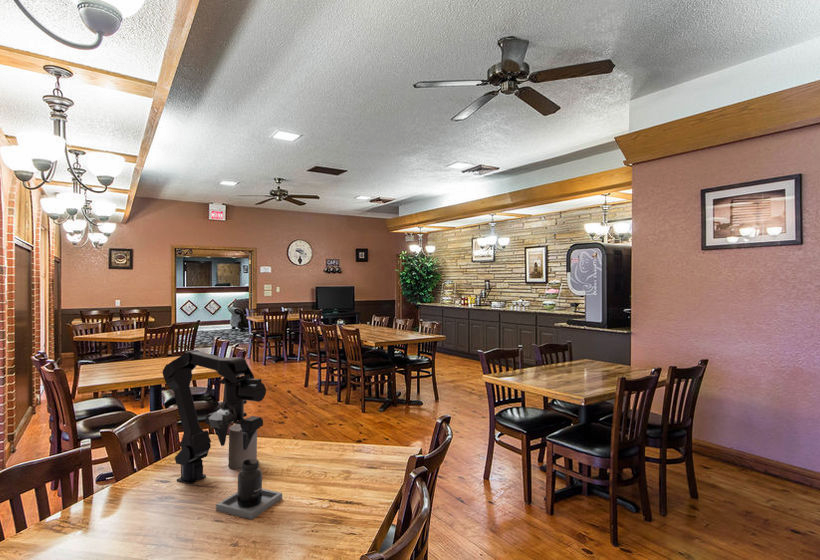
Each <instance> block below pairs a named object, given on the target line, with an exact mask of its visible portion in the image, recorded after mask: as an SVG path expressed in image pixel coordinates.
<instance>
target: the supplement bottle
mask: <svg viewBox="0 0 820 560" xmlns="http://www.w3.org/2000/svg"><path fill="white" fill-rule="evenodd" d="M259 464H260V460H259V459H258V458H257V459H248V460H245V461H243V462H242V467H241V469H242V470H239V473H238V475H237V492H238V493H237V503H238V505H239V506H240V507H245V508H247V507H253V506H256V505H258V504H259V503H260V502H261V500H262V489H263V471H262V470H261V469H260V465H259Z"/></svg>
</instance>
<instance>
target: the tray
mask: <svg viewBox="0 0 820 560" xmlns="http://www.w3.org/2000/svg"><path fill="white" fill-rule="evenodd" d="M237 493H238V491H236V492H235V493H233V494H231V495H229V496H228V497H226V498H224V499H222V500H221V501H219V502H217V503H216V504H215V511H216V512H221V513H225V514H229V515H233V516H236V517H240V518H244V519H247V520H250V521H251V520H252V521H253V520H254V519H255V518H257V517H258V516H259V515H261V514H262V513H264V512H266V511H267V510H268V509H270V508H272V507H273V506H275V505H276V504H278V503H279V502H280V501H281V500H283V492H279V491H275V490H270V489H267V488H262V500H261V502H260V503H259V504H258V505H256V506H253V507H247V508H245V507H240V506H239V505H238V503H237Z"/></svg>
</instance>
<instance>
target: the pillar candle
mask: <svg viewBox="0 0 820 560" xmlns="http://www.w3.org/2000/svg"><path fill="white" fill-rule="evenodd" d="M240 430H242V428H241V427H240V424H234V423H233V424H231V425H230V426H228V460H227V461H228V465H227V466H228V468H229V469H230V470H236V471H242V469H241V467H242V462H243V461H245V460H248V459H257V460H258V458H257V457H258V455H257V454H258V429H257V430H256V432H255V433H254V435H253V437H252V439H251V441H250V444H249V446H248V448H247V449H246V450H244V449H243V434H242V433H241V432H240Z"/></svg>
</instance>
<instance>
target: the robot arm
mask: <svg viewBox="0 0 820 560" xmlns="http://www.w3.org/2000/svg"><path fill="white" fill-rule="evenodd" d="M197 366H198V367H200V368H201V367H202V368H205V369H208V370H213V371H216V372H217V374H218V375H219V376H221V377H223V378H221V380H219V381H218V382H219V384H221V385H224V402H221V404H220V408H219V409H218V410H216V411H214V412H211V413H208V414H207V415H206V417H205V425H208V427H209V428H212V429H213V430H214V431H215V433H216V436H217V438H218V441H219V444H220V445H221V447H223V446H225V444H226V440H227V435H228V430H229V425H230V424H233V425H234V424H240V427H241V428H242V430H240V432H241V433H242V434H243V449H244V450H246V449H247V448H248V446H249V444H250V441H251V439H252V437H253V435H254V433H255V432H256V430H257V431H258V429H260V428H261V427H263V426H264V418H262V417H261V416H256V415H251V416H249V417H247V415H248V413H247V412H245V406H244V405H245V404H247V401H249V402H257V403H259V402H262V401H263V400H264V399H265V397H266V394H267V388H266V386H265V384H264V383H262V378H255V376H254V374H253V372H252V370H251V368H250V367H249V365H248V362H247V360H246V359H245V357H236V356H235V357H234V356H233V357H222V356H219V355H215V354H211V353H208V352H207V353H206V352H204V351H200V350H198V349H193V350H188V351H187V350H186V351H184V352H183V354H181V355H180V356H179V357H177V358H175V359H174V360H172V361H171V362H169V363H167V364H165V366H164V368H162V376H163V379H164V381H165V384H166V385H167V387H169V388H170V389H171V390H172V391H173V395H174V399H175V402H176V403H175V404H176V407H177V411H178V415H179V419H180V423H181V427H182V432H183V434H182V438H181V440H180V448H181V449H180V450H179V452H178V453H177V454H176V455H175V456H174V460H175V464H176V465H180V477H179V478H177V479H176V481H177V482H180V483H185V484H190V485H191V484H194V483H196V482H198V481H200V480H202V479H204V478H207V475H206V474H205V473H204V465H203V462H204V461H203V459H204V458H206V457H207V458H208V453H209V452H210V449H211V446H212V445H211V443H212V440H211V437H210V433H209V431H208V430H204V429H203V428H202V427H201V426H200V421H199V417H198V414H197V410H196V406H195V402H194V398H193V394H192V390H191V387H190V385H191V383H192V379H193V370H194V369H195V368H197ZM245 417H247V418H245Z"/></svg>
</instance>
